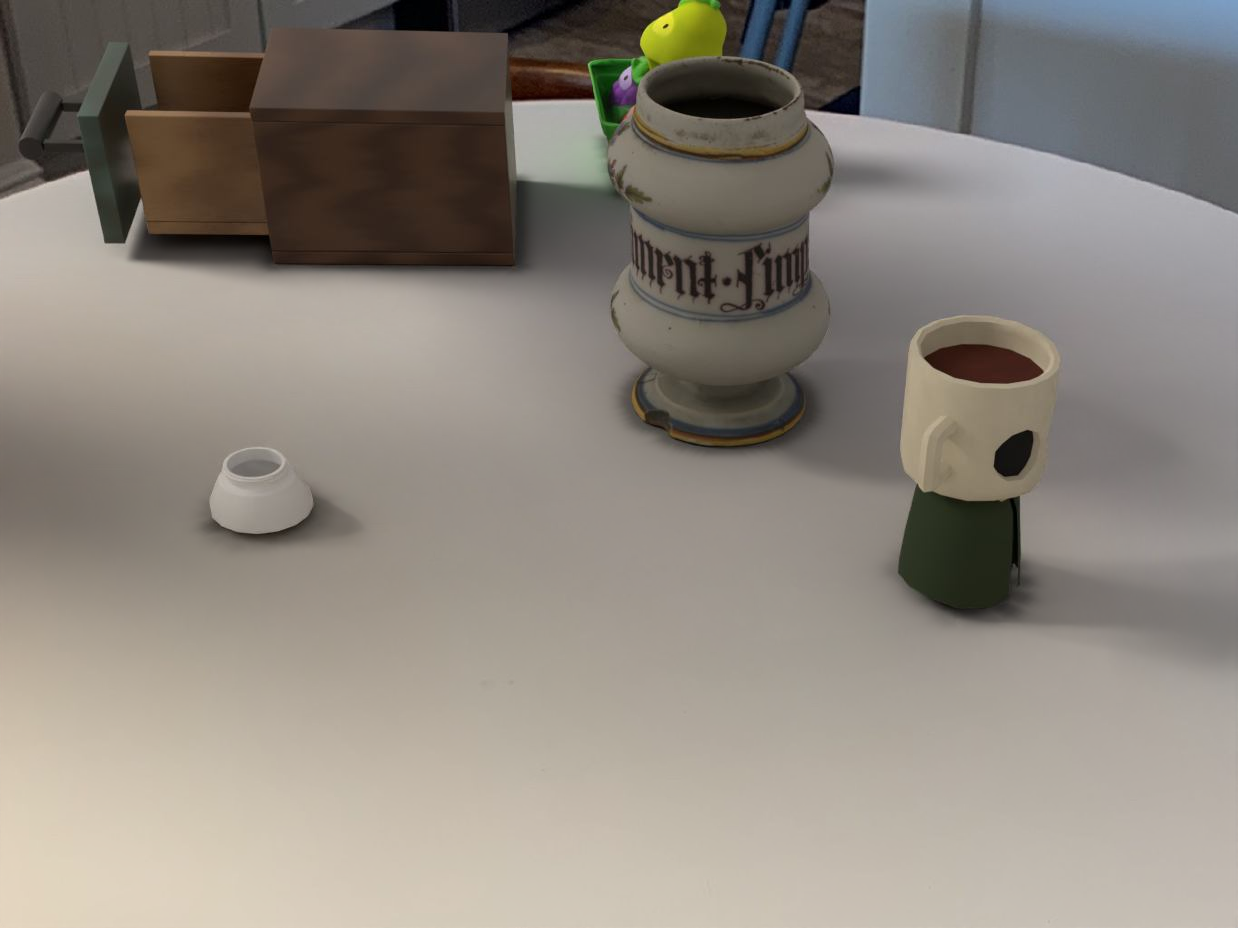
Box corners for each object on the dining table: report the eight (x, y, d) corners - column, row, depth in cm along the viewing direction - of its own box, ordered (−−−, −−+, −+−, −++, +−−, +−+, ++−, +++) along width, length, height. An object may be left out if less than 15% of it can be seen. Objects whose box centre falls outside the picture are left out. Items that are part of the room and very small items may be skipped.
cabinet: (273, 263, 117) (248, 107, 110) (292, 176, 126) (271, 27, 119) (514, 265, 119) (504, 112, 112) (516, 179, 128) (507, 32, 121)
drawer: (30, 243, 115) (-2, 114, 109) (64, 163, 123) (36, 39, 117) (333, 246, 117) (316, 120, 112) (347, 167, 125) (332, 46, 120)
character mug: (972, 660, 92) (1004, 422, 83) (844, 611, 94) (862, 375, 85) (1064, 554, 99) (1102, 326, 90) (943, 512, 101) (969, 284, 93)
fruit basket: (588, 131, 134) (582, -37, 126) (712, 129, 136) (715, -37, 128) (603, 201, 126) (598, 26, 118) (735, 199, 128) (739, 26, 120)
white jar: (194, 506, 97) (243, 551, 95) (184, 456, 95) (233, 501, 93) (282, 476, 100) (332, 519, 97) (274, 426, 98) (324, 468, 95)
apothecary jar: (567, 405, 107) (553, 82, 94) (704, 329, 114) (707, 21, 102) (735, 482, 102) (743, 154, 90) (866, 399, 110) (889, 84, 97)
